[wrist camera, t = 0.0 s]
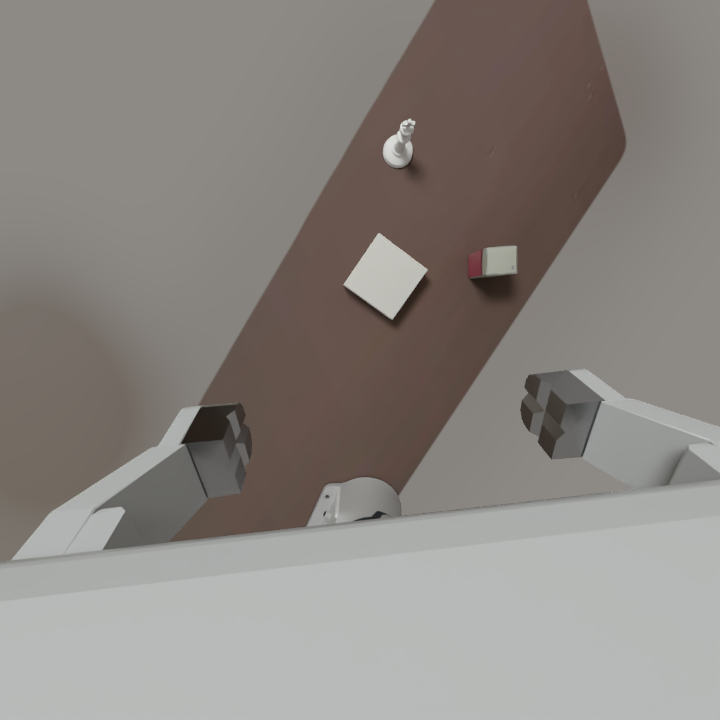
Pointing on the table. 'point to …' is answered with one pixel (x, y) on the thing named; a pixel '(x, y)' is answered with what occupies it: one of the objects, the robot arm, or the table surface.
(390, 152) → the chess piece
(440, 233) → the table surface
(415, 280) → the off-white block
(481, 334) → the table surface
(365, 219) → the table surface
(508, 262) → the small box
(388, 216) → the table surface
